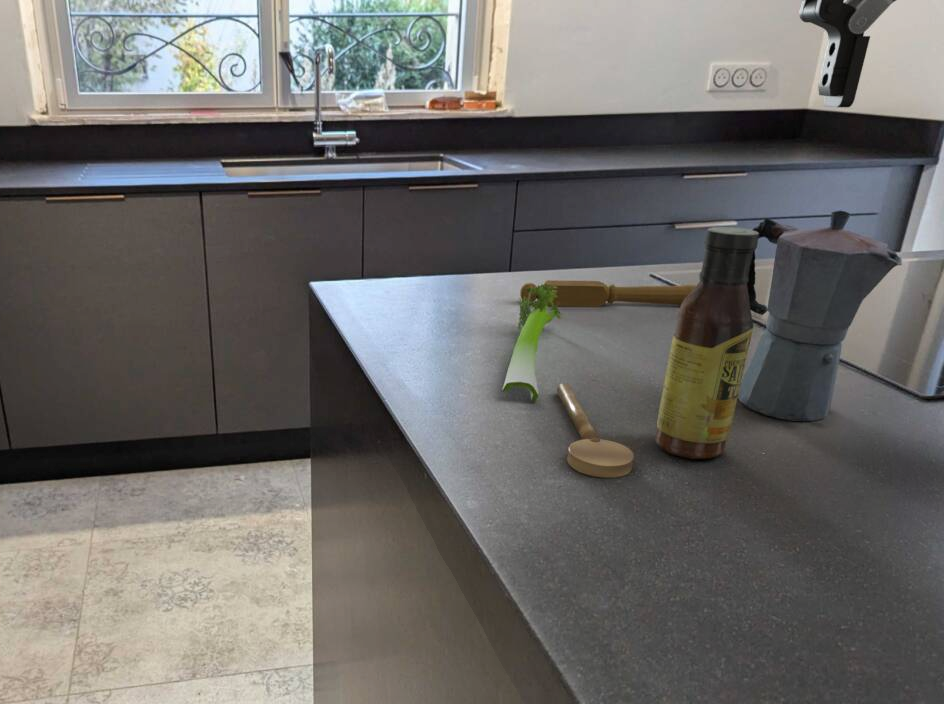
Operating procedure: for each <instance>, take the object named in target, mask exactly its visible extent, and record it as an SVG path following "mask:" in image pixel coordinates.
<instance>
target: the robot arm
mask: <svg viewBox="0 0 944 704" xmlns="http://www.w3.org/2000/svg"><path fill="white" fill-rule="evenodd" d="M896 1H897V0H846V1H845V0H801V3H800V7H799V12H798V13H799V14H798V16H799V19H800V20H801V21H802V22H803V23H810V24H813V25H815V26H817V27H820V28H822V29H823V30H824V31H825V32H826V33H827V37H828V40H827V44H826V45H827V46H826V49H825V53H824V58H823V63H822V68H821V71H820V76H819V80H818V85H817V91H818V95H819V96H822V97H823V105H824V107H829V108H850V107H852V105H853V104H854V102H855V99H856V95H857V91H858V88H859V83H860V79H861V75H862V71H863V67H864V63H865V59H866V55H867V51H868V48H869V44H870V43H869V42H870V39H871V35H865V32H866V31H867V30H868V29H869V28H871V26H873V24H874V23H876V21H877V20H878V19H879V18H880V17H881V15H882V14H883V13H884V12H885V11H886V10H887V9H888V8H889V7H890V6H891V5H892V4H894V2H896Z"/></svg>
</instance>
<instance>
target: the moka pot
mask: <svg viewBox="0 0 944 704" xmlns="http://www.w3.org/2000/svg"><path fill="white" fill-rule="evenodd" d="M850 217H851V213H850V212H847V211H844V210H835V211H832V212H831V215H830V222H829V223H830V224H829V226H828V227H817V228H816V227H815V228H797V227H795V226H793V225H788V224H779V223H778V222H776V221H774V220H772V219H770V218H764V220H763V221H761V222H760V223H758V224H759V225H758V226H755V227H754V228H753V229H752V230H754V231H756V232H758V233H759V237H758V240H759V239H761V238H765V239H767V240H768V242H769V243H772V244H774V245H776V248H775V253H774V261H773V266H772V274H771V281H770V286H769V287H770V288H769V293H768V295H769V296H768V301H767V305H765V304H762V303H760V302H758V301H757V300H756V299H757V293H756V289H755V285H756V250H755V251H754V252H753V255H752V260H751V264H750V269H749V274H748V279H749V281H748V282H747V288H748V295H749V303H750V310H751V312H753V313H755V314H758V315H761V316H763V315H765V314H766V313H768V316H767V319H766V323H765V327H766V328H765V330H764V331H763V333H762V335H761V336H760V339H759V341H758V344H757V346H756V348H755V351H754V353H753V355H752V356H751V358H750V361H749V364H748V366H747V368H746V370H745V372H744V374H743V376H742V380H741V384H740V388H739V393H738V398H737V400H739V401H740V402H741V403H742V404H744V406H746V408H749V409H751V410H753V411H755V412H759V413H760V414H763V415H764V416H768V417H772V418H774V419H779V420H786V421H790V422H791V421H792V422H815V421H819V420H821V419H824V418H825V417H827V415H828V414H829V411H830V409H831V405H832V400H833V396H834V390H835V384H836V379H837V373H838V368H839V363H840V360H841V353H842V346H843V344H842V342H843V341H844V340H845V338H846V337H847V334H848V331H849V328H850V327H851V325H852V323H853V322H854V319H855V317H856V315H857V314H858V311H859V309H860V306H861V305H862V303H863V301H865V299H866V298H867V297H868V296H869V295H870V294H871V293H872V292H873V290H874V289H875V288H876V287H877V286H878V285H879V284H880V283H881V282H882V281H883V279H885V277H886V276H887V275H888V274H889V273H890V272H891V271H892V270H893V269H894V268H895V267H897V266H902V265H903V258H902V257H900V256H899V255H898V254H897V252H895V251H894V250H892V249H890V248H889V247H888V243H886V242H883V241H880V240H877V239H875V238H871V237H869V236H867V235H866V236H865V235H863V234H860V233H856V232H854V231H850V230H847V229H844V228H845V227H846V224H847V223H848V221H849V219H850Z"/></svg>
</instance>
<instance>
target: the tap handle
mask: <svg viewBox="0 0 944 704" xmlns="http://www.w3.org/2000/svg"><path fill="white" fill-rule="evenodd" d="M550 284H552V286H556V287H558V288H553V289H554V290H557V292H556V295H557V297H553V298H554V300H553V301H552V302H553V303H554V305H555V306H556V307H574V308H575V307H576V308H577V307H579V308H583V307H584V308H601V307H602V306H603V305H604V304H606V303H608V304H611V305H612V304H613V303H615V302H620V303H621V302H622V303H637V304H638V303H640V304H658V305H677V306H679V305H680V306H681V304H682V302H683V301H684V300H685V298H686V297H687V295H688V294H689V293H691V292H692V291H693V289H694V288H695V287H696V286H697V285H694V284H688V285H649V286H648V285H647V286H644V285H643V286H641V285H640V286H616V285H615V284H610V285H607V284H606V283H604V282H602V281H599V280H558V279H557V280H555V279H552V280H550V279H549V280H545V282H544V283H542V284H540V286H542V287H543V285H544V287H545V286H548V287H549V286H551V285H550ZM529 287H530V288H531V287H532V288H534V287H537V288H538V286H537V285H536V284H534V283H533V282H527V283H525V284H523V285H522V286H521V288H520V291H519V295H520V299H521V301H522V300H523V299H524V297H525V300H524V301H525V302H526V299H527V301H528V298H529V294H530V291H529V293H528V292H526V289H527V288H529ZM547 290H548V289H547ZM550 290H551V291H552V288H550ZM534 291H536V290H534ZM532 293H533V292H532ZM532 293H531V295H530V303H532V302H535V301H537V300H538V299H540V297H538V299H537V297H536V295H535V294H532ZM556 295H555V296H556ZM552 296H553V295H552ZM543 298H544V297H543ZM559 301H560V302H559ZM548 303H549V302H548ZM557 305H558V306H557ZM547 307H552V304H551V302H550V303H549V304H548V306H547Z"/></svg>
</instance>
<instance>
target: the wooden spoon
mask: <svg viewBox="0 0 944 704" xmlns="http://www.w3.org/2000/svg"><path fill="white" fill-rule="evenodd" d="M556 392H557V395H558V396H559V398H560V400H561V402H562V404H563V406H564V409H565V410H566V412H567V414H568V416H569V417H570V419H571V421H572V423H573V426H574V427H575V429H576V431H577V432H578V434H579V437H580V438H581V439H578V440H576V441H573V442H572V443H571V444H570V445H569V446H568V450H567V458H566V460H567V464H568V465H569V466H570V467H571V468H572V469H573V470H574V471H576V472H579V473H581V474H583V475H586V476H591V477H595V478H605V479H612V478H620V477H624V476H627V475H628V474H630V473H631V472H632V470H633V465H634V461H635V454H634V452H633V450H631V449H630V448H628V447H627V446H626V445H624V444H621V443H619V442H616V441H612V440H607V439H601V438H600V437H599V435H598V434H597V432H596V430H595V428H594V426H593V424H592V423H591V421H590V420H589V418H588V416H587V415H586V413H585V411H584V409H583V408H582V406H581V404H580V402H579V400H578V399H577V397H576V395H575V393H574V391H573V390H572V388H571V386H570V385H569V384H568V383H566V382H562V383H560V384H558V385H557V386H556Z"/></svg>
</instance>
